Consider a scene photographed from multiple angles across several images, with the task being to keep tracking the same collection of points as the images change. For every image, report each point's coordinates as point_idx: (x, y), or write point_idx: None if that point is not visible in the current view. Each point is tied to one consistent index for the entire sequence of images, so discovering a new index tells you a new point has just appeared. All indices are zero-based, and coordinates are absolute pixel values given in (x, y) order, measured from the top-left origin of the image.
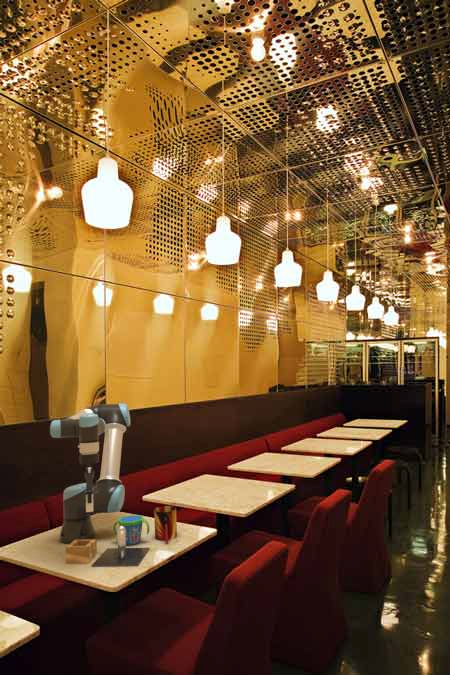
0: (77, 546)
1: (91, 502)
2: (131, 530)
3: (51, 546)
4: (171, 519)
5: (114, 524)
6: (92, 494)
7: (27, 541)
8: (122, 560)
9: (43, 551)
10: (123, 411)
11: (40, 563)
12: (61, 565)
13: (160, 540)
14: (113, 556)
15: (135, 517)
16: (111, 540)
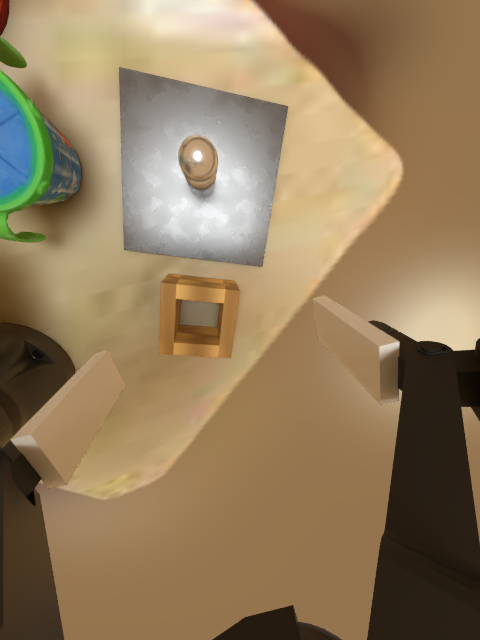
0: (227, 326)
1: (378, 322)
2: (56, 140)
3: None
4: None
5: (14, 236)
6: (395, 345)
7: None
8: (241, 173)
9: (135, 418)
10: None
11: (216, 395)
12: (237, 345)
13: (7, 14)
14: (201, 212)
15: None
16: (30, 254)
